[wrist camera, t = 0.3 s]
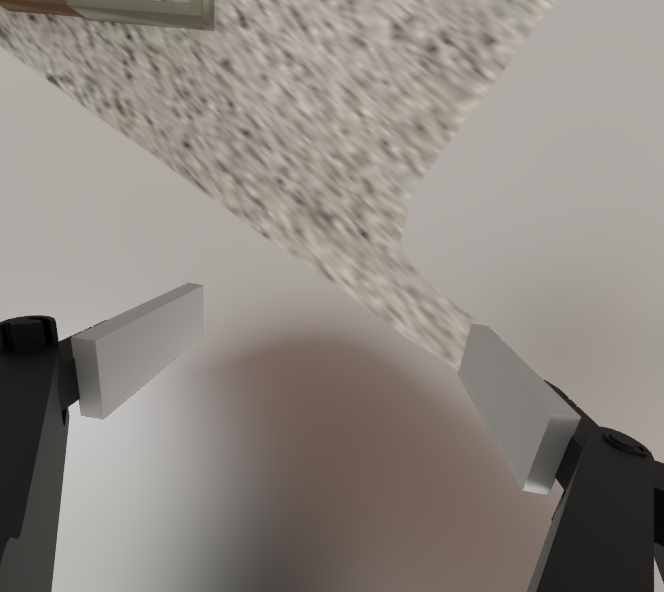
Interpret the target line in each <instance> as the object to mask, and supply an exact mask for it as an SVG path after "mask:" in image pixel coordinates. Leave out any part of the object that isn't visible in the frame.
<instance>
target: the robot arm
mask: <svg viewBox="0 0 664 592" xmlns="http://www.w3.org/2000/svg"><path fill="white" fill-rule="evenodd" d="M202 336H203V285H199V284H192V283H187V284H185V285H183V286H181V287H178V288H176V289H174V290H172V291H170V292H168V293H166V294H163V295H161V296H159V297H157V298H155V299H153V300H150V301H148V302H146V303H144V304H141V305H139V306H137V307H135V308H133V309H131V310H128V311H126V312H124V313H122V314H120V315H118V316H115V317H113V318H111V319H109V320H105V321H103V322H101V323H99V324H97V325H95V326H94V327H90V328H88V329H86V330H84V331H81V332H79V333H77V334H75V335H73V336H70V337H68V338H66V339H64V340H62V341H58V334H57V328H56V321H55V319H54V318H52V317H49V316H24V317H17V318H13V319H8V320H5V321H3V322H0V592H51V589H52V579H53V569H54V560H55V550H56V541H57V530H58V521H59V511H60V502H61V492H62V482H63V472H64V464H65V454H66V445H67V435H68V425H69V411H68V406H70V405H71V404H73V403H74V402H76V401H77V400H79V404H80V412H81V416H87V417H93V418H99V419H105V418H106V417H107V416H108V415H109V414H111V413H112V412H113V411H114V410H115V409H116V408H118V407H119V406H120V405H121V404H122V403H124V402H125V401H126V400H127V399H128V398H130V397H131V396H132V395H133V394H134V393H136V392H137V391H138V390H139V389H140V388H141V387H143V386H144V385H145V384H146V383H148V382H149V381H150V380H151V379H152V378H154V377H155V376H156V375H157V374H158V373H160V372H161V371H162V370H163V369H164V368H165V367H167V366H168V365H169V364H170V363H171V362H173V361H174V360H175V359H176V358H177V357H179V356H180V355H181V354H182V353H183V352H185V351H186V350H187V349H188V348H189V347H190V346H192V345H193V344H194V343H195V342H197V341H198V340H199V339H200V338H201V337H202ZM458 376H459V378H460V379H461V381H462V383H463V385H464V387H465V388H466V390H467V392H468V394H469V395H470V397H471V399H472V401H473V402H474V404H475V406H476V408H477V410H478V412H479V413H480V415H481V417H482V419H483V420H484V422H485V424H486V426H487V428H488V429H489V431H490V433H491V435H492V437H493V438H494V440H495V442H496V444H497V445H498V447H499V449H500V451H501V453H502V455H503V456H504V458H505V460H506V462H507V464H508V465H509V467H510V469H511V471H512V473H513V474H514V476H515V478H516V480H517V481H518V483H519V485H520V487H521V489H522V490H524V491H529V492H536V493H542V494H547V495H548V494H549V493H550V490H551V488H552V486H553V483H554V481H555V479H557V480H558V482H559V483H560V485H561V486H562V487H563V489H564V492H563V494H562V497H561V499H560V501H559V503H558V506H557V508H556V510H555V513H554V515H553V517H552V524H551V526H550V529H549V532H548V535H547V538H546V540H545V543H544V546H543V548H542V551H541V554H540V557H539V559H538V562H537V565H536V568H535V571H534V573H533V576H532V579H531V582H530V584H529V587H528V590H527V592H654V558H655V561H656V563H657V566H658V569H659V572H660V574H661V577H662V580H663V582H664V463H661V462H658V461H655V460H654V458H653V456H652V453H651V452H650V451H649V450H648V449H647V448H646V447H645V446H644V445H642V444H641V443H639V442H638V441H636V440H635V439H633V438H631V437H629V436H627V435H625V434H623V433H621V432H618V431H616V430H613V429H610V428H606V427H599V426H598V425H597V424H596V423H595V422H594V421H593V420H592V419H591V418H589V416H587V415H586V414H585V413H584V412H583V411H582V410H581V409H580V408H579V407H577V405H576V404H575V403H574V402H573V401H572V400H570V399H569V398H568V397H567V396H566V395H565V394H564V393H563V392H562V391H561V390H560V389H559V388H557V387H555V386H554V385H552V384H550V383H549V382H547V381H546V380H543V379H542V378H541V377H540V376H539V375H538V374H537V373H536V372H534V371H533V369H531V368H530V367H529V366H528V365H527V364H526V363H525V362H524V361H523V360H522V359H521V358H520V357H519V356H518V355H517V354H516V353H515V352H514V351H513V350H512V349H511V348H510V347H509V346H508V345H507V344H506V343H505V342H503V340H502V339H501V338H500V337H499V336H498V335H497V334H496V333H495V332H494V331H493V330H491V329H490V328H489V327H488V326H484V325H477V324H471V328H470V332H469V335H468V339H467V343H466V346H465V350H464V354H463V358H462V361H461V365H460V369H459V372H458Z"/></svg>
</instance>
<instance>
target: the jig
mask: <svg viewBox="0 0 664 592" xmlns="http://www.w3.org/2000/svg"><path fill="white" fill-rule="evenodd" d="M0 6H2V7H4V8H5V9H7V10H9V11H18V12H30V13H42V14H54V15H67V16H79V17H85V18H87V19H88V20H90V21H103V22H115V23H127V24H139V25H151V26H164V27H176V28H188V29H200V30H212V31H214V0H192V3H179V2H166V1H153V0H0Z"/></svg>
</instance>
